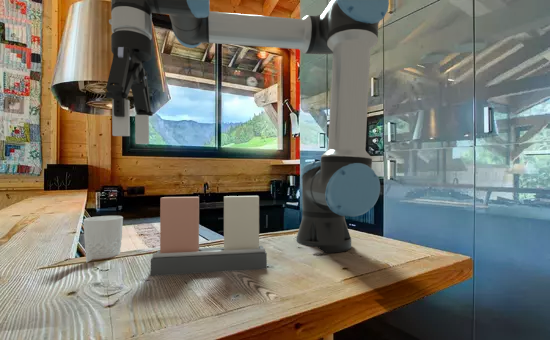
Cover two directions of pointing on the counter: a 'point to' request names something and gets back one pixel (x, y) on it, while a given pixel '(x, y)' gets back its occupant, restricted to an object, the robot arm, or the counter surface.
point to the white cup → (102, 236)
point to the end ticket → (179, 224)
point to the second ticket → (241, 222)
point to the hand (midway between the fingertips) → (132, 140)
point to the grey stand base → (208, 261)
